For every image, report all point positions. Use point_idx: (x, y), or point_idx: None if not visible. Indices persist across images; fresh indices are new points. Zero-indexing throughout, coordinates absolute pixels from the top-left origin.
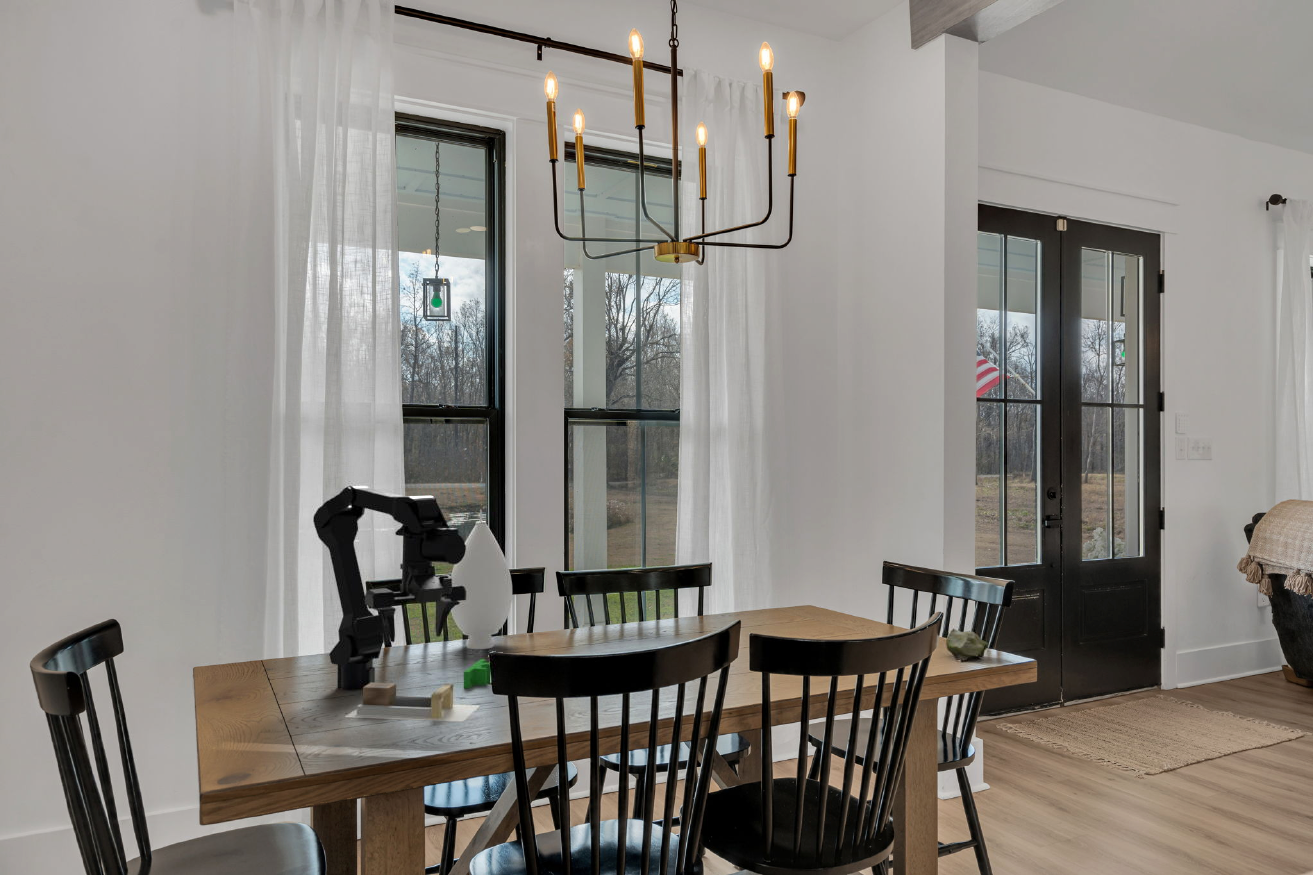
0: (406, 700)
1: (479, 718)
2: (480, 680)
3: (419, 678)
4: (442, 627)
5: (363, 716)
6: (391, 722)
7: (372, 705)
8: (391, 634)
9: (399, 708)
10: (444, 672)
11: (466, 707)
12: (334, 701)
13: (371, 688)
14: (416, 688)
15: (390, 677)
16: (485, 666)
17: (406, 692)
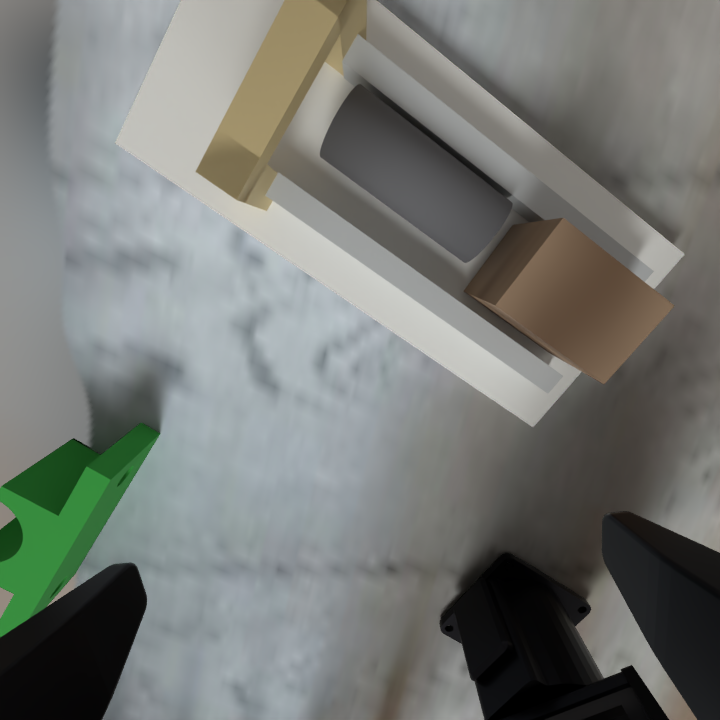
0: (459, 171)
1: (149, 25)
2: (66, 468)
3: (280, 658)
4: (12, 634)
5: (618, 221)
6: None
7: None
8: (715, 557)
9: (494, 146)
10: (188, 688)
11: (181, 142)
12: None
13: (635, 278)
14: (314, 557)
15: (366, 702)
16: (6, 553)
17: (357, 526)
